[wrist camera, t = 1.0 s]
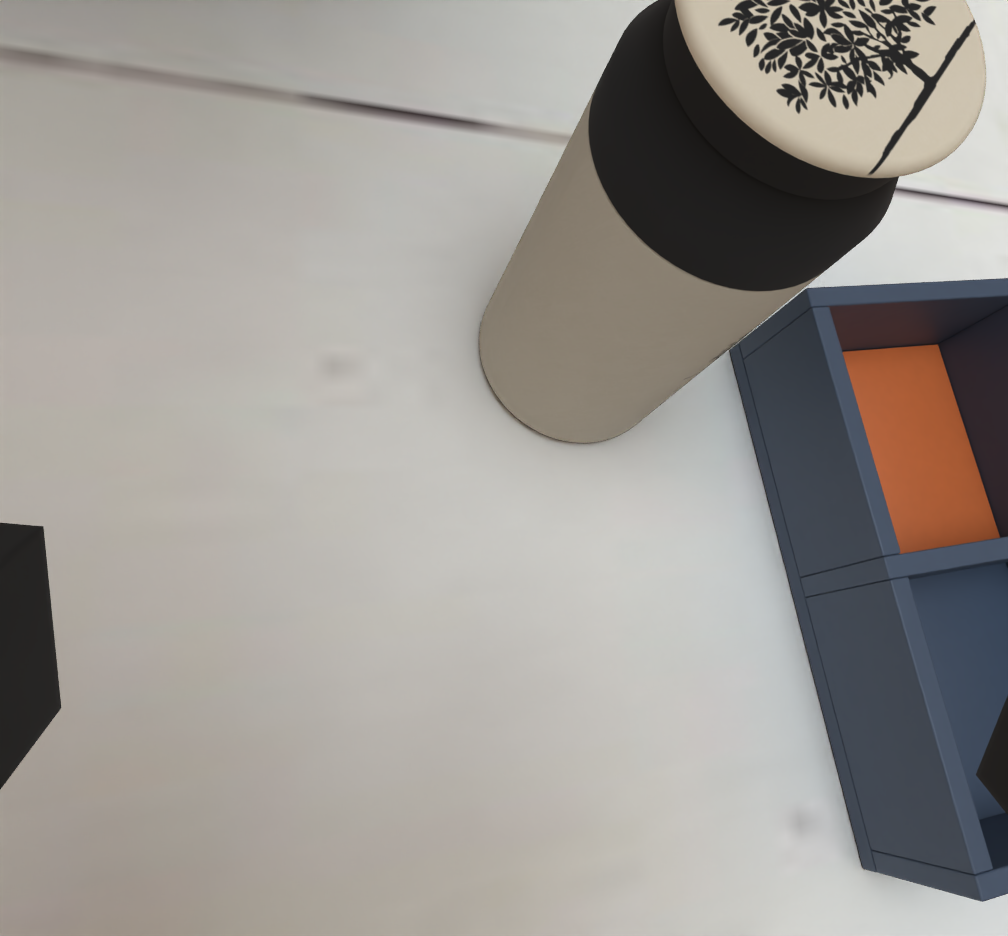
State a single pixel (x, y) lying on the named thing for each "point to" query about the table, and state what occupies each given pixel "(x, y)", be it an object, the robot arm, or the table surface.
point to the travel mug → (717, 191)
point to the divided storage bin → (897, 552)
